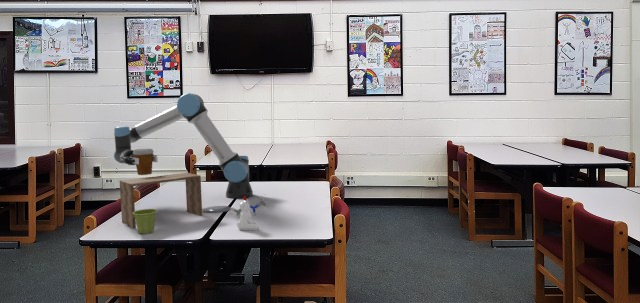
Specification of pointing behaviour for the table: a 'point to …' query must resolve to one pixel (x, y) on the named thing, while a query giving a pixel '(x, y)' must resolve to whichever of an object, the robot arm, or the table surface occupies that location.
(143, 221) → the plant pot
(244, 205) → the white creature statuette
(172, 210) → the table surface
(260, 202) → the molecular model
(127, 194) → the walnut shelf
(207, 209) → the slate coaster
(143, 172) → the disposable coffee cup
